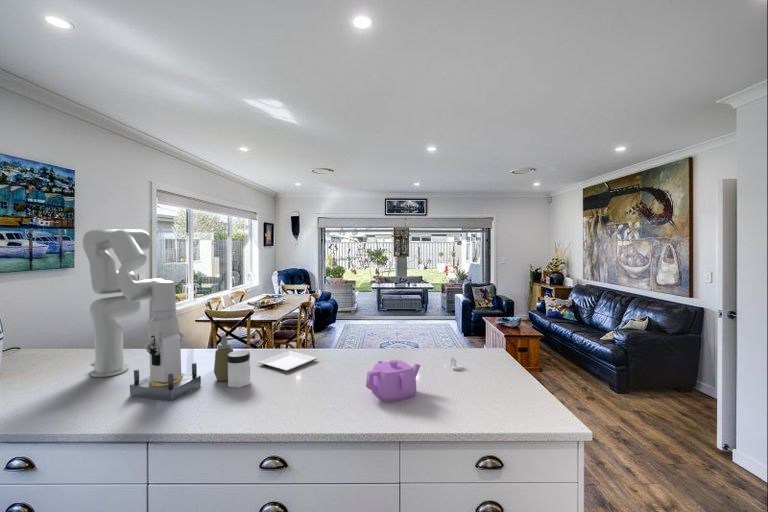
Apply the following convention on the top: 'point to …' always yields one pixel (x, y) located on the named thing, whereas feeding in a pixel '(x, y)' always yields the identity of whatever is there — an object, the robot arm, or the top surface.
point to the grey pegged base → (165, 386)
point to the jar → (238, 368)
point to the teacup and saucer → (453, 364)
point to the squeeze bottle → (222, 359)
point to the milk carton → (167, 359)
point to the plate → (287, 360)
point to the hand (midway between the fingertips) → (165, 361)
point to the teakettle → (392, 380)
